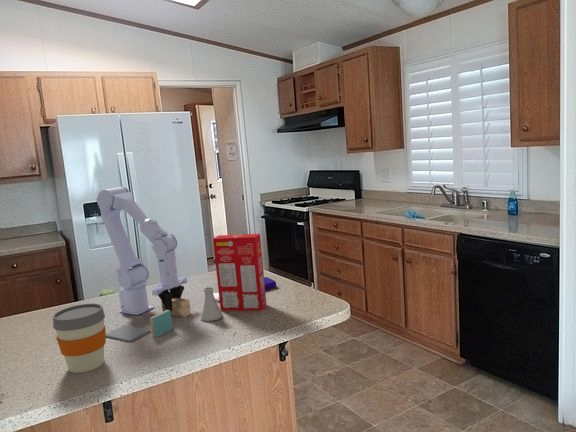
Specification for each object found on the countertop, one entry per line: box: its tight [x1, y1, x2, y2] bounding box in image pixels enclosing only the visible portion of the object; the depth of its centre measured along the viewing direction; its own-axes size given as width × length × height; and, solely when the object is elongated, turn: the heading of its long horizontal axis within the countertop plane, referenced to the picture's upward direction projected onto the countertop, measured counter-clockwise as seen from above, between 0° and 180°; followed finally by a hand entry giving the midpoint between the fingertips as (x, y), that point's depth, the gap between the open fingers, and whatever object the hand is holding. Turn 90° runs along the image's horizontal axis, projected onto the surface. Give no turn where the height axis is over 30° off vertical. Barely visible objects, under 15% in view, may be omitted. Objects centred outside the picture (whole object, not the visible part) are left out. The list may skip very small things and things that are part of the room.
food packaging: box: [212, 233, 267, 312], centre depth 158 cm, size 15×5×25 cm, turn 78°
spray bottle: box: [213, 276, 277, 302], centre depth 177 cm, size 3×11×24 cm
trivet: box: [106, 324, 152, 343], centre depth 144 cm, size 12×8×1 cm, turn 60°
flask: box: [200, 286, 223, 322], centre depth 152 cm, size 7×7×10 cm
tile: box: [149, 310, 173, 338], centre depth 143 cm, size 2×7×6 cm, turn 149°
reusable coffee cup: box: [52, 303, 107, 374], centre depth 124 cm, size 13×13×15 cm
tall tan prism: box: [160, 297, 192, 318], centre depth 159 cm, size 10×3×5 cm, turn 60°
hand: (173, 309), depth 160 cm, fingers closed on tall tan prism, 3 cm apart
